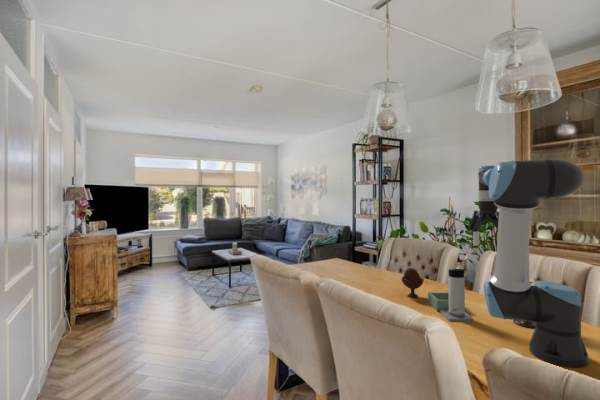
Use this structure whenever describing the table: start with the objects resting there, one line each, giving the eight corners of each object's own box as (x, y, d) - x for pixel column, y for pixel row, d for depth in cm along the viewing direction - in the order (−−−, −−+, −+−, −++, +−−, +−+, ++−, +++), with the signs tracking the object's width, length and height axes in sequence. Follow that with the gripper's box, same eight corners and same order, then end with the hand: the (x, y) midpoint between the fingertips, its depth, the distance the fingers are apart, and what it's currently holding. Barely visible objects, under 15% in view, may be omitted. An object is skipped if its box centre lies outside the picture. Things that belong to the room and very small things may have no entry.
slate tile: (473, 321, 135) (473, 318, 135) (448, 320, 136) (448, 318, 136) (462, 312, 145) (462, 310, 145) (440, 312, 146) (440, 309, 146)
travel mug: (456, 318, 136) (456, 270, 135) (445, 312, 142) (445, 267, 142) (468, 316, 137) (468, 269, 137) (457, 311, 144) (457, 266, 143)
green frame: (464, 311, 146) (464, 300, 146) (436, 311, 147) (436, 300, 147) (453, 302, 158) (453, 292, 158) (428, 302, 159) (428, 292, 158)
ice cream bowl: (425, 300, 162) (425, 270, 161) (402, 299, 164) (402, 269, 164) (422, 293, 172) (422, 265, 172) (400, 292, 174) (400, 265, 174)
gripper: (520, 200, 134) (520, 251, 135) (473, 199, 158) (473, 243, 159) (506, 201, 132) (506, 252, 133) (460, 200, 156) (460, 244, 156)
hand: (488, 247), depth 146 cm, fingers open, 13 cm apart
